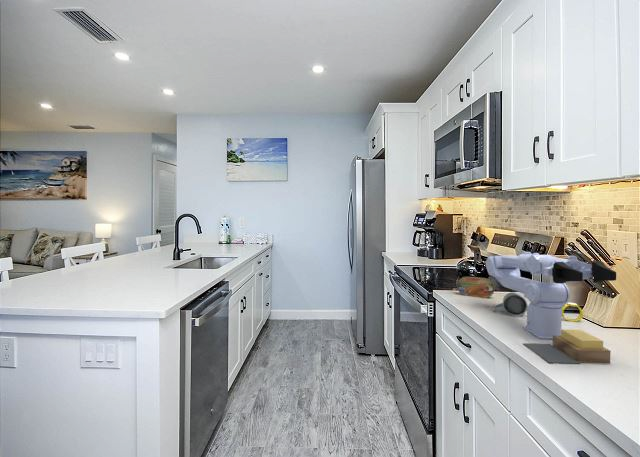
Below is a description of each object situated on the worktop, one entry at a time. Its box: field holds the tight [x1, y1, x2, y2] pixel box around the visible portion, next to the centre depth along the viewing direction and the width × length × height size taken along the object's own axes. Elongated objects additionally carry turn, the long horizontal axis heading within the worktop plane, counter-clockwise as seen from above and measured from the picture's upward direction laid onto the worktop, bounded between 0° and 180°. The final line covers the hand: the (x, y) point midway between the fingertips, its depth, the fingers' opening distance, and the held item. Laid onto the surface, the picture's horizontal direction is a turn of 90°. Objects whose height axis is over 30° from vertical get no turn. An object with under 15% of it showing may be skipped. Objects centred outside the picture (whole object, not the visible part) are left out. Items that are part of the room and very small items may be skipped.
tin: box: [456, 276, 496, 299], centre depth 149 cm, size 15×3×8 cm, turn 55°
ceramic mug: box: [492, 291, 529, 317], centre depth 124 cm, size 11×8×8 cm
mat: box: [522, 342, 581, 365], centre depth 89 cm, size 12×7×1 cm, turn 176°
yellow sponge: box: [561, 329, 604, 349], centre depth 88 cm, size 8×5×2 cm, turn 176°
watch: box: [562, 302, 584, 322], centre depth 115 cm, size 6×3×6 cm, turn 74°
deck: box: [552, 335, 612, 364], centre depth 88 cm, size 10×8×3 cm
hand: (597, 276), depth 82 cm, fingers open, 7 cm apart
